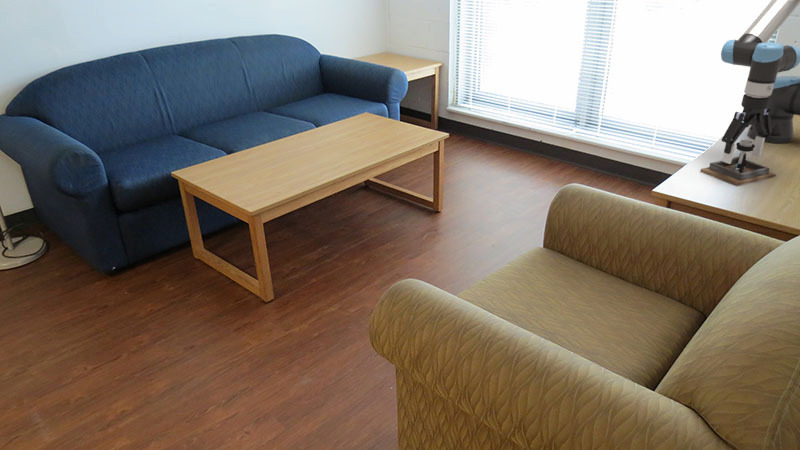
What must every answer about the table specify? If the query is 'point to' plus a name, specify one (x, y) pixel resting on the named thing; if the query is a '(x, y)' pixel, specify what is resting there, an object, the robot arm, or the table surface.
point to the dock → (729, 175)
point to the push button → (743, 154)
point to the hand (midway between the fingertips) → (741, 159)
